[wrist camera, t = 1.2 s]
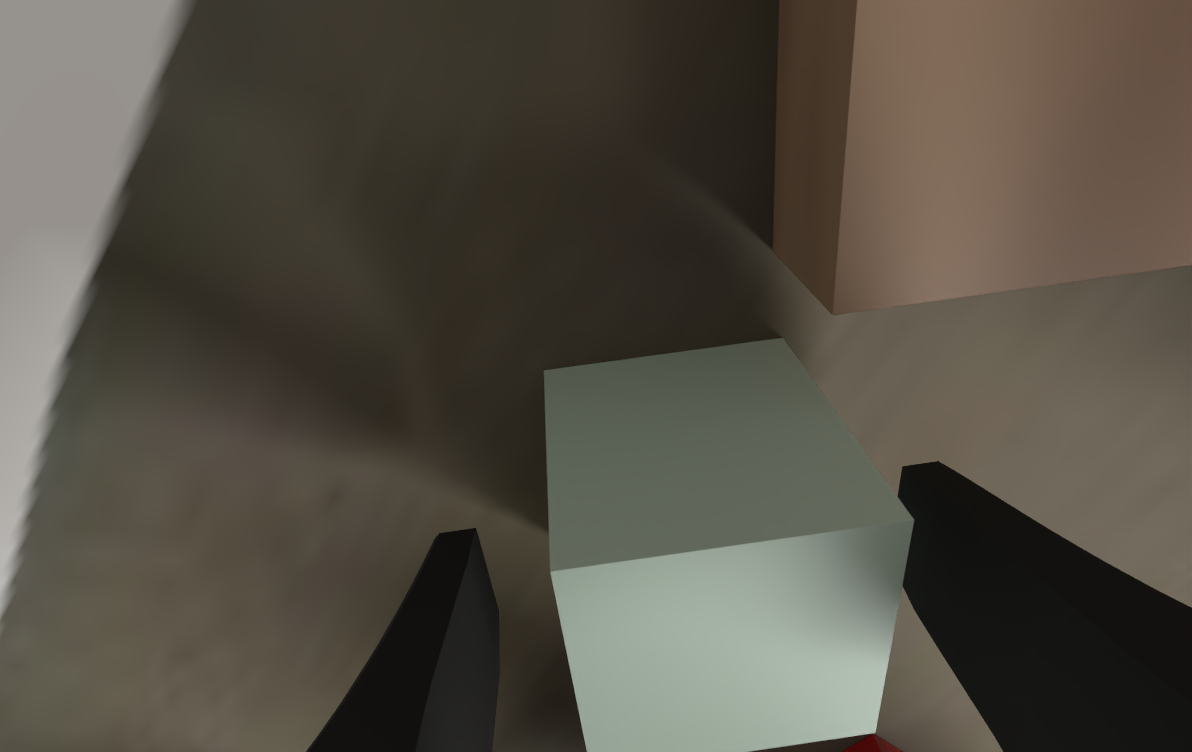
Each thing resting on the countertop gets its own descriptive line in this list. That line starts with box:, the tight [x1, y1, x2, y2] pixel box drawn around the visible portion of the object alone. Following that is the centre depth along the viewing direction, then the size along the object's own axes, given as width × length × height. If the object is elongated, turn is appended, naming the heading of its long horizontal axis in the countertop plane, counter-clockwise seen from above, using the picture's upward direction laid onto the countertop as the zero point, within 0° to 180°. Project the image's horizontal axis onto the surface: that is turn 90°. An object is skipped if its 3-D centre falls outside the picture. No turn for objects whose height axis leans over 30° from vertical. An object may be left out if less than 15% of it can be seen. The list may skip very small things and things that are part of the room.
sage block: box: [544, 338, 914, 752], centre depth 11 cm, size 4×4×5 cm
